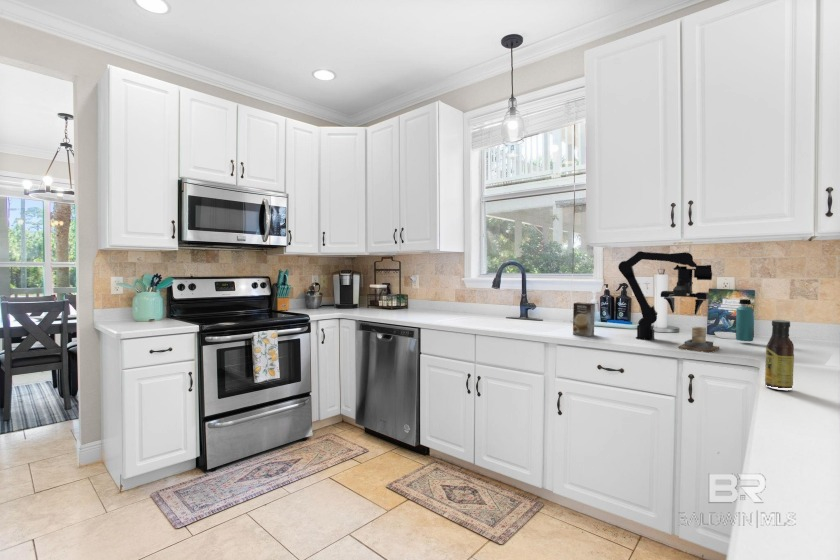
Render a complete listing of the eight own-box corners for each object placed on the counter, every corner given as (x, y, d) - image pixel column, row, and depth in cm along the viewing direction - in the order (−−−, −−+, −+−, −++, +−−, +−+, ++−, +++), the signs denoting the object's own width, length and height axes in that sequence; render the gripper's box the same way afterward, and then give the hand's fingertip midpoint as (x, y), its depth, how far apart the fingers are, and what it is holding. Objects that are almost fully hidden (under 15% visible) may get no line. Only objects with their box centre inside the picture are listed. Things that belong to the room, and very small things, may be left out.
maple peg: (691, 346, 185) (692, 327, 185) (694, 345, 188) (695, 326, 188) (702, 347, 182) (703, 328, 182) (705, 346, 185) (705, 327, 185)
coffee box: (572, 334, 223) (572, 303, 222) (576, 332, 228) (577, 302, 227) (590, 336, 217) (590, 304, 216) (594, 334, 222) (595, 303, 221)
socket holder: (678, 348, 186) (678, 341, 185) (687, 344, 194) (687, 338, 193) (711, 352, 177) (711, 345, 177) (719, 348, 185) (719, 341, 185)
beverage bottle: (756, 345, 193) (757, 299, 193) (739, 344, 195) (740, 299, 194) (748, 342, 200) (749, 298, 199) (732, 341, 201) (733, 298, 200)
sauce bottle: (765, 384, 130) (766, 318, 129) (792, 388, 126) (794, 320, 125) (764, 389, 125) (766, 320, 124) (793, 393, 121) (795, 322, 120)
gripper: (656, 279, 202) (655, 313, 203) (702, 280, 188) (702, 316, 189) (665, 279, 210) (664, 311, 210) (710, 280, 196) (709, 314, 196)
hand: (684, 313), depth 201 cm, fingers open, 9 cm apart
